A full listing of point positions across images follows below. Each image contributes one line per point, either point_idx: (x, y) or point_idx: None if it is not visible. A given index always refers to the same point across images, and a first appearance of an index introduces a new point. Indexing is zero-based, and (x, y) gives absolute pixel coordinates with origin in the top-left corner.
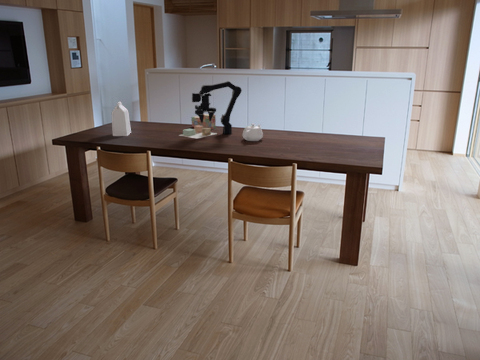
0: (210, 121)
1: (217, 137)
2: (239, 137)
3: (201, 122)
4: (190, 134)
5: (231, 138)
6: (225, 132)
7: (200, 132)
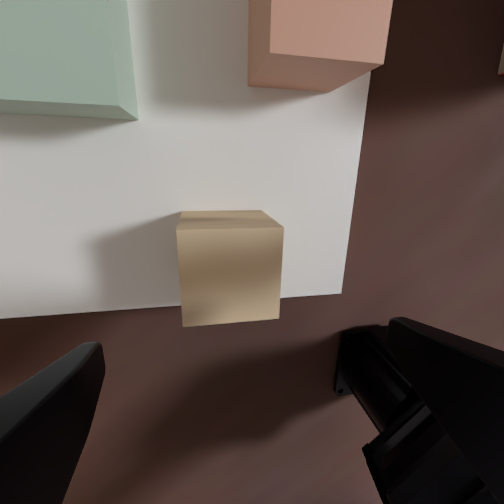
0: None
1: (224, 381)
2: (325, 473)
3: (82, 352)
4: (5, 111)
5: (265, 466)
6: (353, 382)
7: (278, 88)
